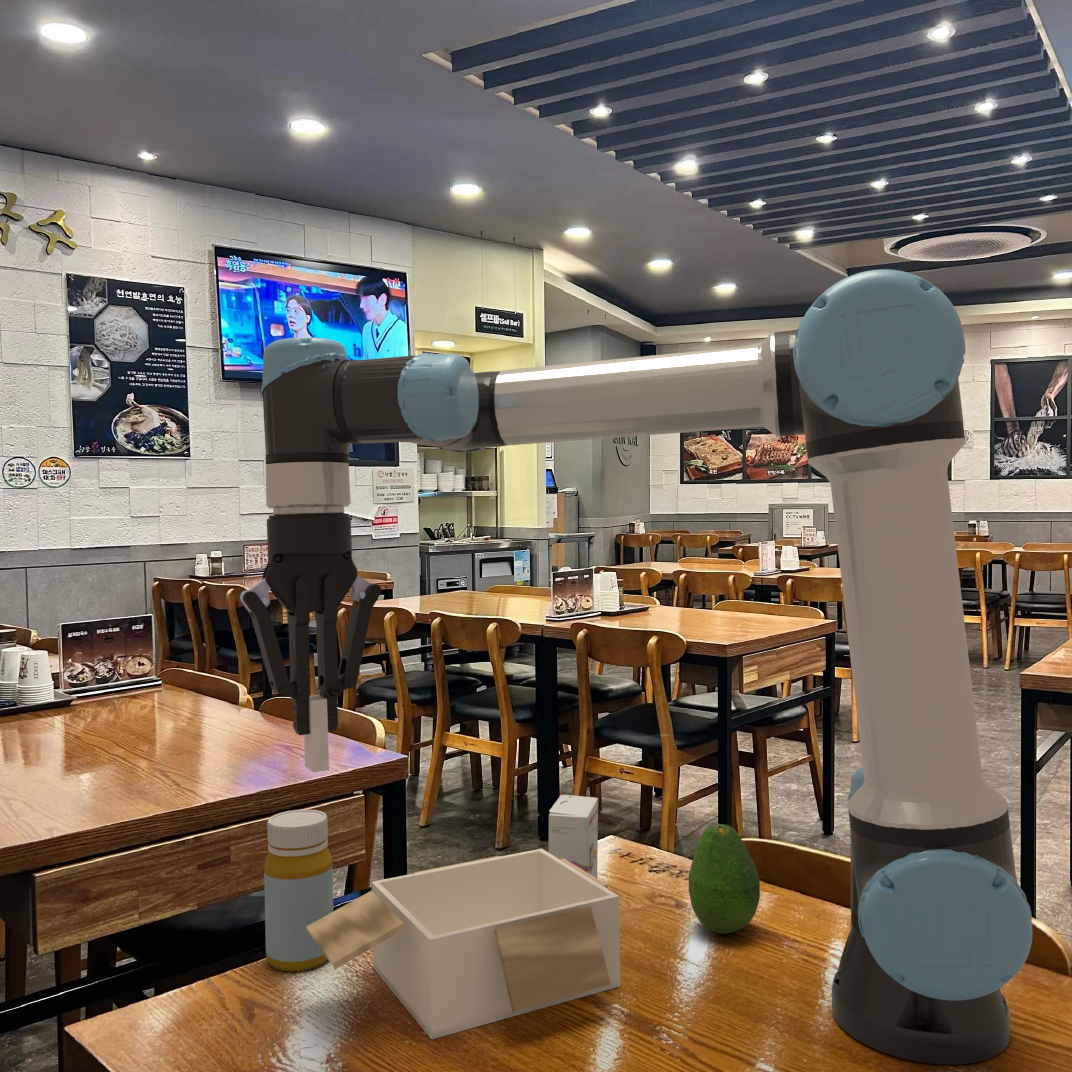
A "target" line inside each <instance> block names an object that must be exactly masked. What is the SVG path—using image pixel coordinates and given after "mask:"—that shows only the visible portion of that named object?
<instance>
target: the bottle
mask: <svg viewBox="0 0 1072 1072" xmlns="http://www.w3.org/2000/svg"><path fill="white" fill-rule="evenodd" d="M328 822H329V821H328V815H327V813H325V812H324V811H320V810H318V809H295V810H294V809H293V810H287V811H282V812H279V813H276V814H274V815H272V816H271V817H268V820H267V823H266V824H267V841H268V843H267V845H268V846H267V848H268V852H267V857H266V860H265V861H264V867H263V868H264V871H263V878H264V883H263V884H264V914H265V915H264V923H265V925H264V927H265V933H264V934H265V954H266V955H265V956H266V960H267V962H268V963H269V964H270V965H271V966H272V967H273V968H275V969H276V970H278V971H283V972H291V973H294V972H295V973H296V972H304V971H309V970H313V969H315V968H318V967H320V966H322V965H323V964H325V963H326V962H327V961H329V960H328V959H327V957H326V956H325V955H324V953H323V952H322V950H321V949H320V948H319V946H318V945H317V944H316V942H315V941H314V940H313V938H312V937H311V935H310V934H309V933H308V931H307V928H306V926H308V925H310V924H312V923H313V922H315V921H317V920H319V919H321V918H323V917H324V916H326V915H328V914H330V913H332V912H333V911H334V891H333V890H334V880H333V879H334V878H333V877H334V876H333V857H332V854H331V851H330V849H329V847H328V845H329V842H328V841H329V839H328V835H329V832H328V831H329V828H328V827H329V825H328Z"/></svg>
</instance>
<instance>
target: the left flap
mask: <svg viewBox="0 0 1072 1072" xmlns="http://www.w3.org/2000/svg"><path fill="white" fill-rule="evenodd" d="M306 928H307V931H308V933H309V934H310V935H311V937H312V938H313V940H314V941H315V942H316V944H317V945H318V946H319V948H320V949H321V950H322V952H323V953H324V955H325V956H326V957H327V959H328V960H327V961H328V962H329V963H330V964H331V966H332V967H333V968H334V970H336V969H338V968H340V967H342V966H343V965H345V964H347V963H349V962H351V961H352V960H353V959H356V958H357V957H359V956H360V955H362V954H364V953H366V952H367V951H369V950H371V949H373V947H375V946H376V945H378V944H380V943H381V942H383V941H385V940H387V939H388V938H390V937H392V936H394V935H395V934H397V933H399V932H401V931H402V930H404V929H405V926H404V923H403V922H402V921H401V920H400V919H399V918H398V917H397V916H396V915H395V914H394V913H393V912H392V911H391V910H390V909H389V908H388V907H387V906H386V905H385V904H384V903H383V902H382V901H381V900H380V899H379V898H378V897H377V896H376V895H375V894H374V893H373V891H372V890H370V891H368V892H367V893H364V894H363V895H361V896H360V897H357V898H355V899H354V900H353V899H352V901H350V902H349V903H346V904H345V905H343V906H341V907H339V908H337V909H335V910H333V912H332V913H330V914H328V915H326V916H324V917H323V918H321V919H319V920H317V921H315V922H313V923H312V924H310V925H308V926H306Z"/></svg>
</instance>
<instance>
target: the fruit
mask: <svg viewBox="0 0 1072 1072" xmlns="http://www.w3.org/2000/svg"><path fill="white" fill-rule="evenodd" d="M689 868H690V869H689V871H688V894H689V898H690V904H691V907H692V910H693V912H694V914H695V916H696V918H697V920H698V922H700V923H701V925H703V926H704V928H706V929H707V930H709V931H711V932H713V933H716V934H719V935H721V934H723V935H726V934H727V935H729V934H731V933H734V932H737V931H740V930H741V929H743V928H744V927H746V926H747V925H748V924H749V923H750V922H751V921H752V919H753V918H754V917H755V915H756V912H757V909H758V906H759V903H760V898H761V893H760V892H761V890H760V889H761V885H760V884H761V881H760V877H759V874H758V870H757V867H756V864H755V862H754V860H753V858H752V857H751V855H750V853H749V851H748V848H747V846H746V844H745V842H744V841H743V839H742V838H741V836H740V834H739V833H738V832H737V831H736V829H735V828H733V827H732V826H730V825H729V824H721V823H715V824H713V825H711V826H709V827H706V828H705V829H704V830H703V832H702V834H701V835H700V838H699V839H698V842H697V845H696V848H695V852H694V855H693V857H692V861H691V865H690V867H689Z"/></svg>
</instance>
